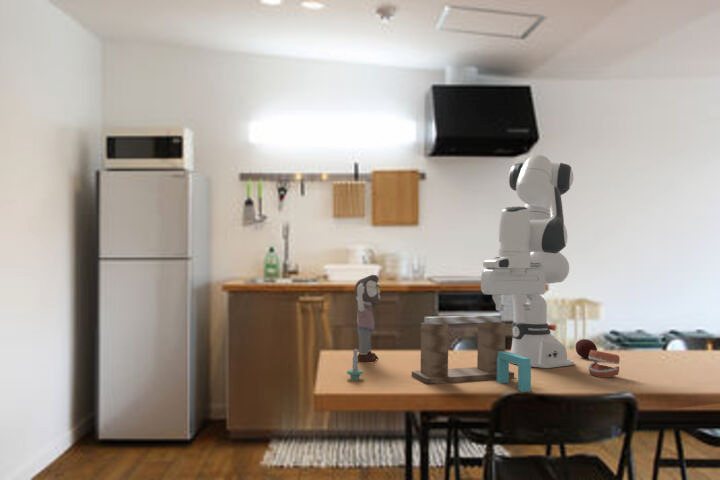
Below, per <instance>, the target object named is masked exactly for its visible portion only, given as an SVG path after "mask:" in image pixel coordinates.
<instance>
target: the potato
mask: <svg viewBox="0 0 720 480" xmlns="http://www.w3.org/2000/svg"><path fill="white" fill-rule="evenodd" d="M574 347H575V351H576V353H577V355H578V356H579V357H581V358H583V359H588V357H589V353H590V350H595V351H598V347H597V345H596V344H595V342H593V341H592V340H590V339H588V338H585V339H584V338H583V339H580V340H578V341H577V342H576V343H575V346H574Z"/></svg>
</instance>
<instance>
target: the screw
mask: <svg viewBox="0 0 720 480" xmlns="http://www.w3.org/2000/svg"><path fill="white" fill-rule="evenodd" d="M352 350H353V353H352V354H353V356H352V368H351V369H350V368H349V369H347V371H346V374H347V375H349V377H350V380H351V381H359V380H360V376H362V375H363V374H365V373H364V370H363V369H359V362H358V353H359V352H358V349H357V348H355V349H352Z"/></svg>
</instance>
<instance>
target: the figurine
mask: <svg viewBox="0 0 720 480" xmlns="http://www.w3.org/2000/svg"><path fill="white" fill-rule="evenodd" d="M378 282H379V276H378V275H377V274H370V275H368V276H364V278H361V279H359V280H357V282H356V283H355V286H354V297H355V299H356V300H357V318H356V322H357V325H356V328H357V335H358V343H359V344H358V349H357V350H358V352H357V355H358V361H360V362H359V363H366V362H373V363H376V362H377V360H376V359H378V360H379V357H378V355H377V354H376V353H375V352H372V351H371V350H372V345H371V335H372V333H374V330H375V324H376V323H375V319H374V315H373V313H374V312H373V310H374V309H375V308H374V307H376V306H378V305H379V304H380V299H381V295H380V293H381V285H379V283H378ZM375 361H376V362H375Z"/></svg>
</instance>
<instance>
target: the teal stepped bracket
mask: <svg viewBox="0 0 720 480" xmlns="http://www.w3.org/2000/svg"><path fill="white" fill-rule="evenodd" d="M510 363H511V364H513V363H514V365H517V364H518V365H517V391H519V392H521V393H526V392H531V391H532V388H531V387H532V381H531V380H532V366H531V365H530V358H527V357H523V356H520V355H517V354H513V353H511V351H510V352H509V351H507V350H505V351H498V357H497V379H496V383H498V384H507V383H510V382H509V381H510V380H509V379H510V378H509V371H510Z"/></svg>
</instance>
